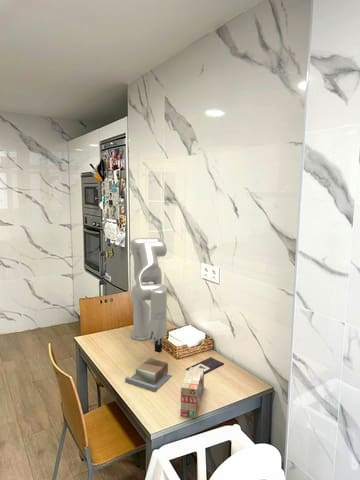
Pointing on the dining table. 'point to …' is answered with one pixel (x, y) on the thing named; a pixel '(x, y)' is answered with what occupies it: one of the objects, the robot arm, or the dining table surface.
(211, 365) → the chocolate bar
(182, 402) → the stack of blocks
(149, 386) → the mat
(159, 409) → the dining table surface
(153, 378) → the walnut block
